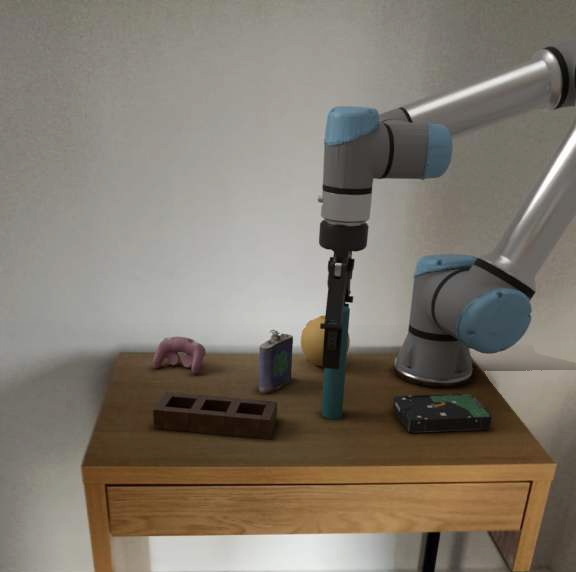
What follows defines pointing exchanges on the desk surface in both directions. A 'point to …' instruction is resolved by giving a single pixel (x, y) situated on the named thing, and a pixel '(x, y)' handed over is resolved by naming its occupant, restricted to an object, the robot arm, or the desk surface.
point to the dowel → (336, 377)
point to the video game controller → (180, 344)
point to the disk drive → (441, 413)
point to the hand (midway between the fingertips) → (334, 353)
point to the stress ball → (314, 341)
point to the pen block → (215, 415)
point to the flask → (275, 362)
